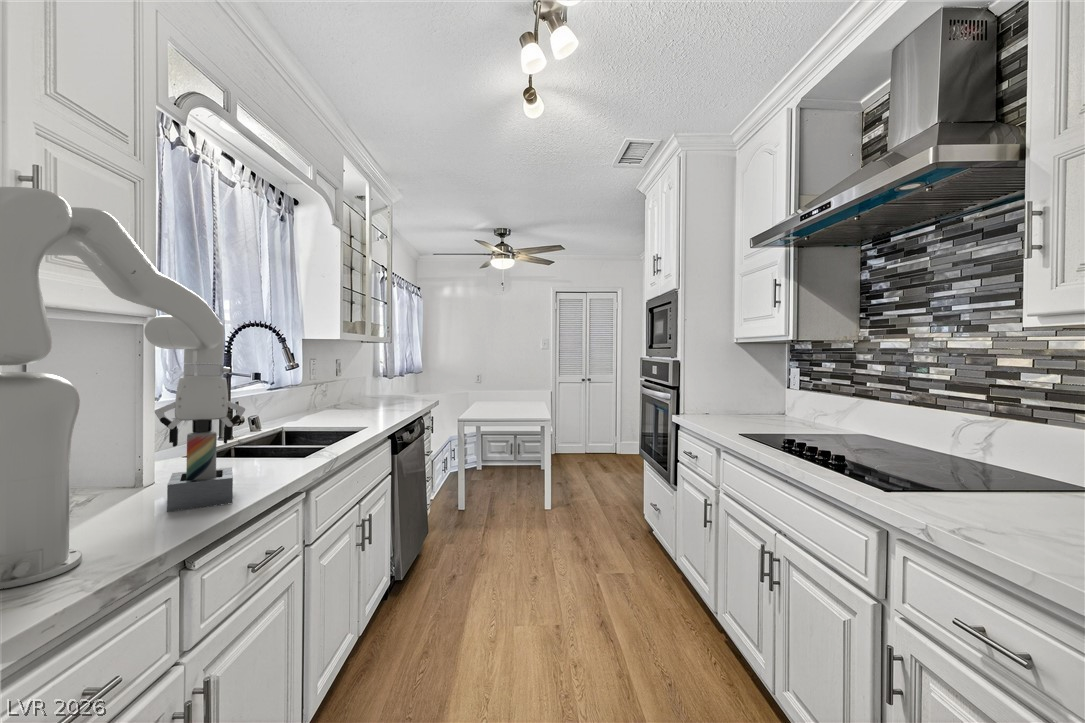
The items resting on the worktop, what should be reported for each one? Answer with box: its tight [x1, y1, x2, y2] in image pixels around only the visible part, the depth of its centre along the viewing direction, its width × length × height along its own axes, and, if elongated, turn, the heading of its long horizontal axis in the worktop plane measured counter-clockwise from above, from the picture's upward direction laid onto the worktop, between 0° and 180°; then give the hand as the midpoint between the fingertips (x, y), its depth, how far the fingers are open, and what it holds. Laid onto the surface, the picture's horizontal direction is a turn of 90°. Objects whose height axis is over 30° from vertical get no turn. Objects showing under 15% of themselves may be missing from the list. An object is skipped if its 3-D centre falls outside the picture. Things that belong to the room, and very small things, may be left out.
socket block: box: [166, 467, 234, 513], centre depth 112 cm, size 12×12×6 cm
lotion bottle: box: [185, 420, 218, 481], centre depth 111 cm, size 6×6×20 cm
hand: (200, 444), depth 111 cm, fingers open, 9 cm apart
